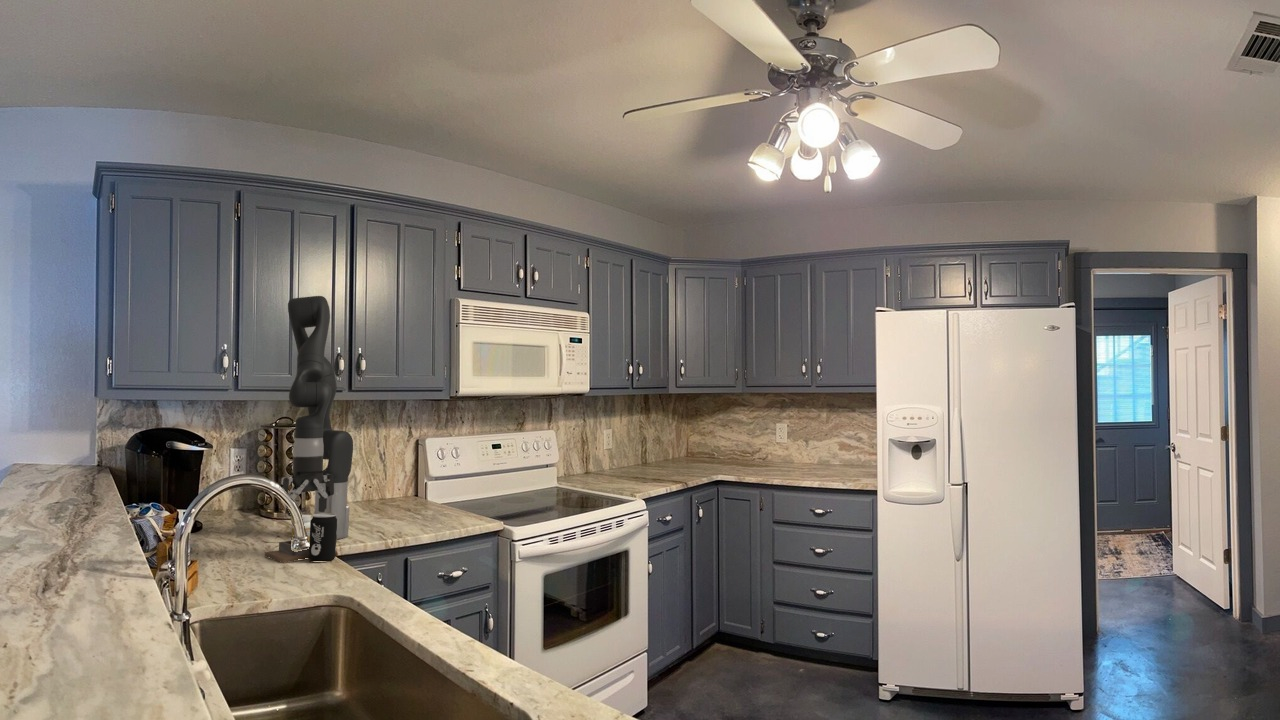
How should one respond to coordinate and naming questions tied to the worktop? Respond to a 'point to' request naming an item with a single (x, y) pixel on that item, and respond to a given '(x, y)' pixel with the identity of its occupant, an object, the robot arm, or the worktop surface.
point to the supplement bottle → (306, 523)
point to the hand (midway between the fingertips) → (306, 513)
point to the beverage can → (323, 537)
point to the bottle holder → (287, 553)
